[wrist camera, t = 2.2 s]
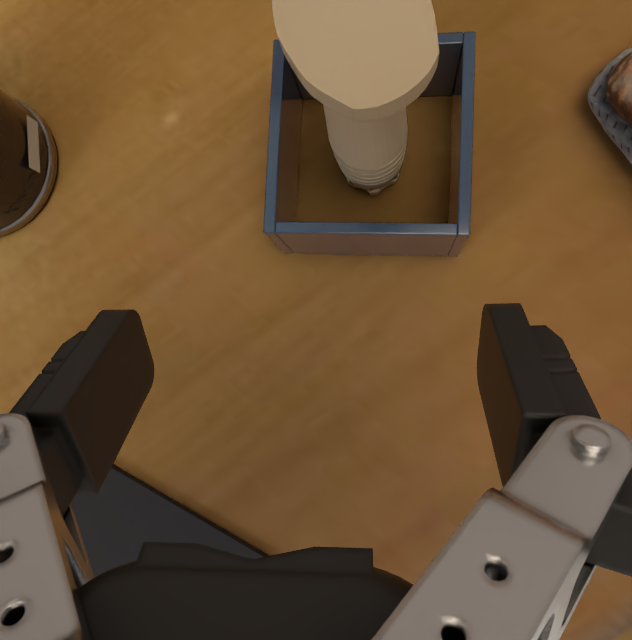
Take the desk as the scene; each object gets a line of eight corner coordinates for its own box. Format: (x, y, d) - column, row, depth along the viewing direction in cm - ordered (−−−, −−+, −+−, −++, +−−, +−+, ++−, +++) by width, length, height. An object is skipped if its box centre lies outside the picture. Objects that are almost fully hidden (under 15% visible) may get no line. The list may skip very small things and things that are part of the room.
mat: (-99, 668, 35) (-107, 673, 35) (27, 414, 35) (22, 415, 35) (165, 857, 32) (161, 864, 31) (304, 576, 32) (303, 579, 31)
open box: (284, 253, 34) (262, 232, 28) (293, 90, 34) (273, 39, 29) (458, 256, 32) (470, 235, 27) (462, 85, 33) (475, 30, 27)
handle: (366, 236, 33) (341, 135, 18) (311, 150, 34) (243, -15, 19) (437, 192, 32) (469, 51, 18) (378, 105, 33) (363, -99, 19)
